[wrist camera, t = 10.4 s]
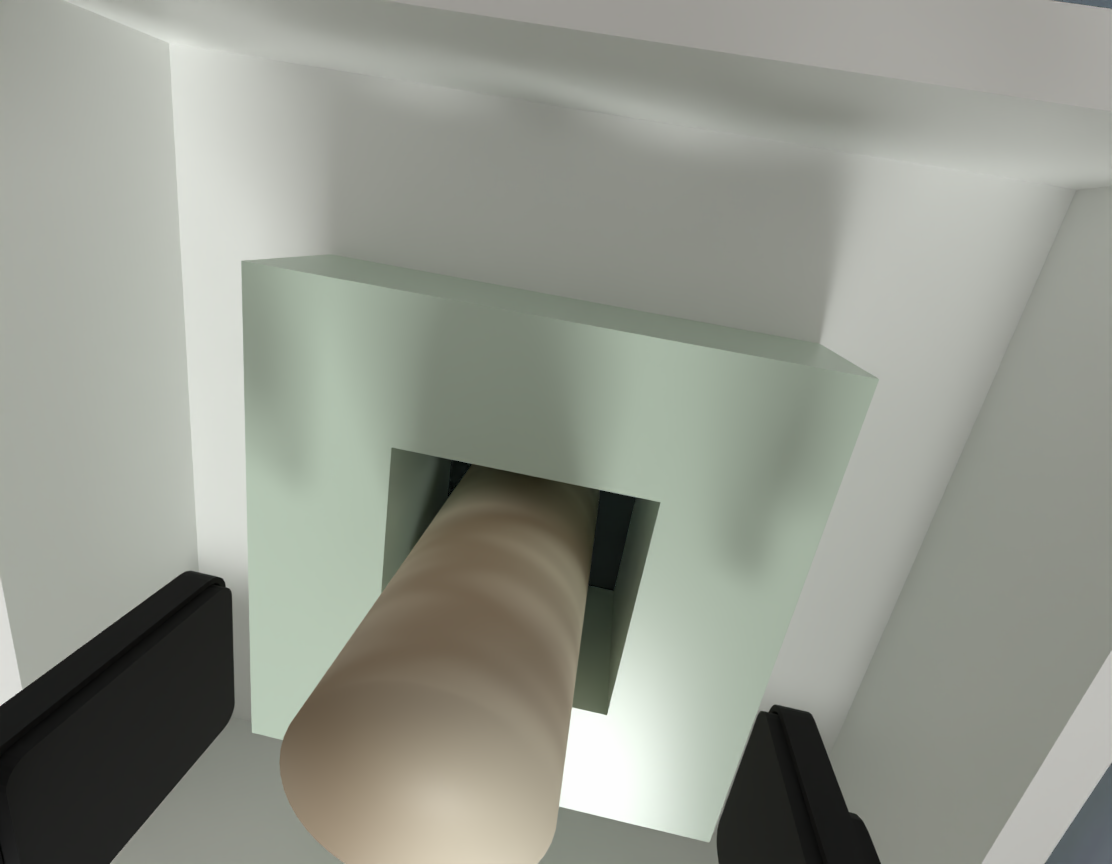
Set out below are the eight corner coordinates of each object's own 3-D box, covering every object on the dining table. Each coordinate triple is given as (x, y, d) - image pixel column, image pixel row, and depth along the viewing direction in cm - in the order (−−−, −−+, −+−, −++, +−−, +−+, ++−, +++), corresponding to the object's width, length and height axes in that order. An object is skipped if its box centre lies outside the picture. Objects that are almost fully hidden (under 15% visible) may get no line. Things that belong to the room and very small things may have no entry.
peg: (611, 444, 17) (581, 720, 7) (586, 563, 18) (534, 923, 9) (476, 417, 17) (278, 649, 8) (461, 536, 18) (279, 857, 9)
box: (1095, 154, 13) (1570, 73, 6) (797, 833, 20) (875, 1118, 14) (174, 9, 14) (-212, -179, 8) (210, 694, 22) (28, 893, 15)
